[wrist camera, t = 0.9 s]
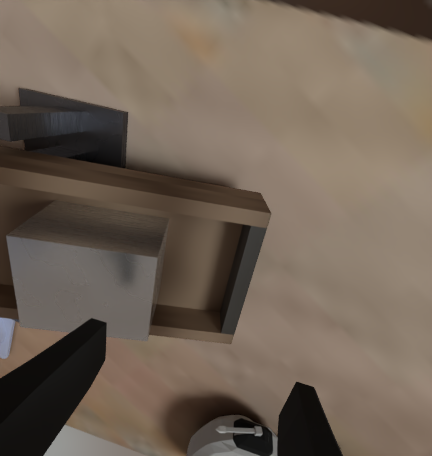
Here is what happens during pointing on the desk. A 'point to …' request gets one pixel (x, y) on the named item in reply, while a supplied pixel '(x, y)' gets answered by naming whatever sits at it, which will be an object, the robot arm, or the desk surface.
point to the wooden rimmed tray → (175, 242)
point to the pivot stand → (66, 128)
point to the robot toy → (233, 438)
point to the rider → (88, 268)
